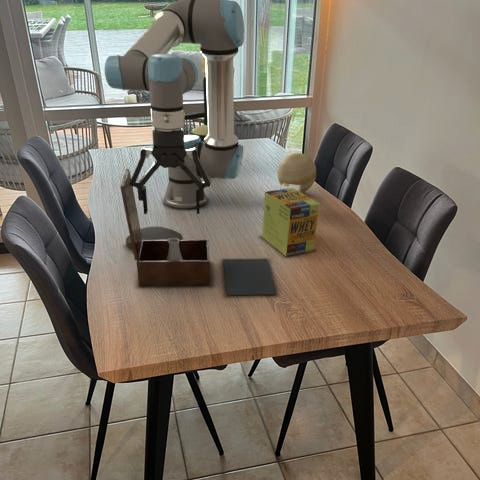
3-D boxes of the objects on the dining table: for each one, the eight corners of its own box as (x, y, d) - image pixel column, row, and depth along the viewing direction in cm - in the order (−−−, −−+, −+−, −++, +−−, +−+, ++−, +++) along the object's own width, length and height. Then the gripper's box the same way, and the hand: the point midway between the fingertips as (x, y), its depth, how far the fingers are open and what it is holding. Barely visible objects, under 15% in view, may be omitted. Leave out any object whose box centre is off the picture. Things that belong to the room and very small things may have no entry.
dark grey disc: (158, 259, 150) (157, 250, 149) (121, 247, 156) (120, 238, 155) (187, 242, 161) (187, 233, 159) (151, 230, 167) (150, 222, 165)
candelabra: (174, 171, 216) (169, 53, 190) (204, 159, 232) (203, 48, 206) (211, 180, 208) (210, 58, 182) (239, 167, 224) (242, 52, 198)
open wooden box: (208, 263, 150) (208, 239, 145) (209, 285, 139) (209, 261, 134) (143, 263, 148) (140, 239, 144) (139, 286, 137) (136, 261, 133)
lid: (129, 168, 132) (126, 168, 132) (123, 186, 121) (120, 186, 121) (142, 238, 144) (139, 238, 144) (137, 260, 133) (134, 260, 133)
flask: (162, 266, 146) (160, 234, 140) (188, 266, 146) (187, 234, 141) (161, 279, 140) (159, 246, 134) (188, 278, 140) (187, 246, 135)
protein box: (286, 257, 154) (290, 208, 145) (261, 237, 165) (264, 191, 156) (314, 250, 158) (320, 203, 149) (288, 231, 169) (292, 186, 161)
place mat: (223, 260, 151) (223, 259, 151) (266, 260, 152) (266, 259, 152) (226, 296, 135) (226, 294, 134) (275, 295, 136) (275, 294, 135)
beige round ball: (321, 195, 198) (326, 157, 189) (288, 201, 192) (291, 161, 183) (301, 183, 209) (304, 146, 200) (269, 188, 203) (271, 150, 194)
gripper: (112, 131, 117) (122, 217, 129) (220, 132, 119) (220, 217, 131) (116, 123, 123) (125, 206, 135) (219, 124, 125) (219, 206, 137)
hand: (172, 212), depth 133 cm, fingers open, 13 cm apart
